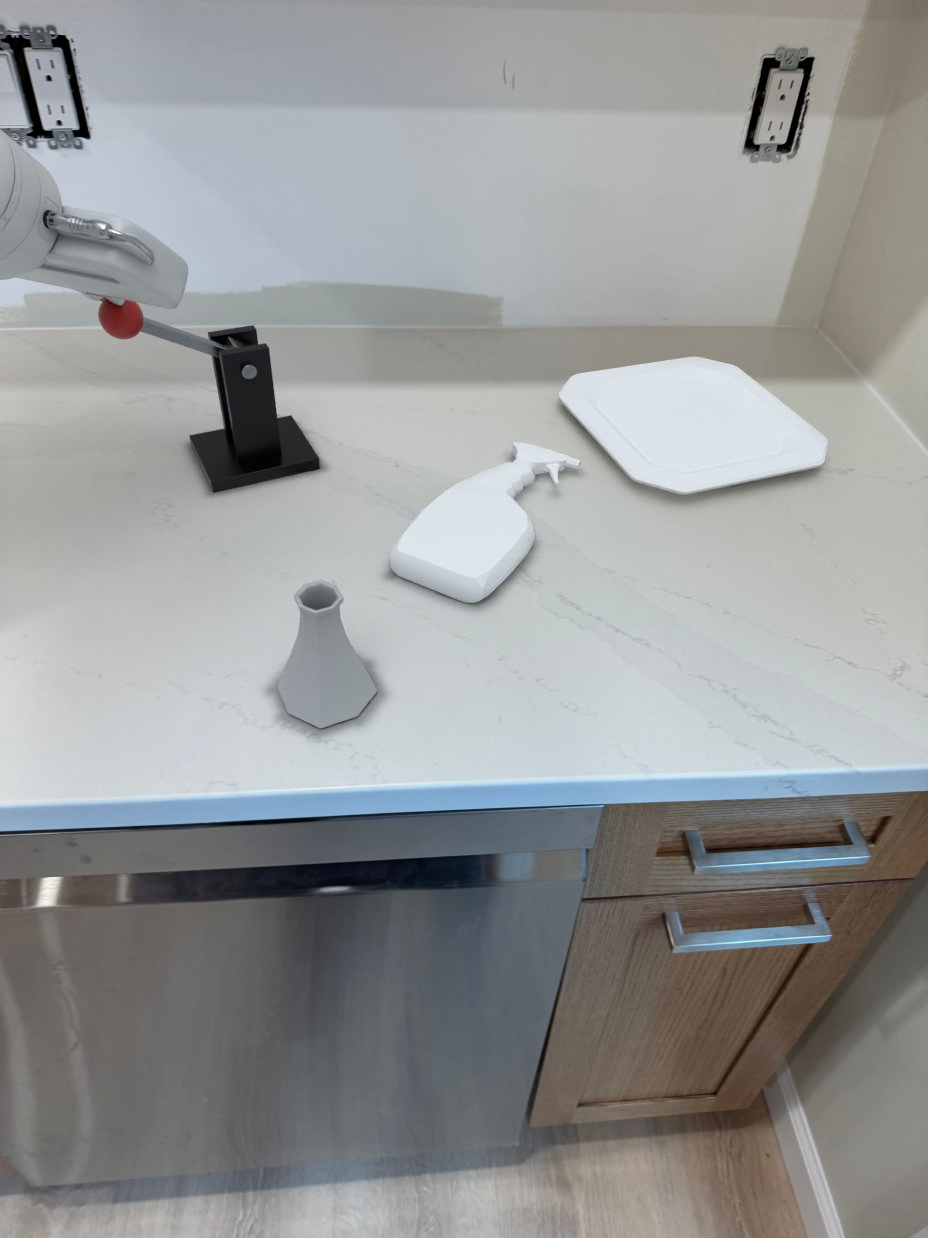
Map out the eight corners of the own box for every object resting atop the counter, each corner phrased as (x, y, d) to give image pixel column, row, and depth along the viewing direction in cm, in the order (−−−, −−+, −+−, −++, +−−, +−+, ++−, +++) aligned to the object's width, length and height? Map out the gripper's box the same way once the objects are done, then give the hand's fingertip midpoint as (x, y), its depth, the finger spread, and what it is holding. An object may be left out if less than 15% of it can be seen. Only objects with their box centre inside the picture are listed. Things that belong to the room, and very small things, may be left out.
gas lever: (96, 338, 69) (109, 298, 67) (89, 320, 71) (102, 281, 69) (252, 387, 78) (267, 353, 76) (242, 370, 80) (255, 337, 79)
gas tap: (213, 492, 80) (189, 371, 71) (191, 445, 86) (166, 328, 77) (320, 468, 84) (310, 351, 75) (292, 425, 90) (280, 310, 81)
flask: (335, 643, 67) (328, 547, 60) (394, 693, 63) (393, 599, 56) (260, 688, 63) (243, 592, 56) (318, 745, 59) (307, 650, 52)
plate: (648, 515, 81) (652, 497, 80) (541, 394, 98) (543, 377, 96) (845, 473, 89) (853, 455, 87) (715, 367, 105) (719, 350, 103)
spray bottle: (377, 571, 73) (498, 447, 89) (486, 615, 70) (592, 478, 86) (377, 545, 71) (501, 423, 87) (489, 589, 68) (596, 454, 84)
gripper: (136, 183, 53) (232, 278, 67) (-126, 136, 57) (16, 236, 70) (112, 278, 53) (213, 354, 67) (-148, 225, 57) (-2, 308, 70)
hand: (110, 293), depth 68 cm, fingers closed, pressing on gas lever
